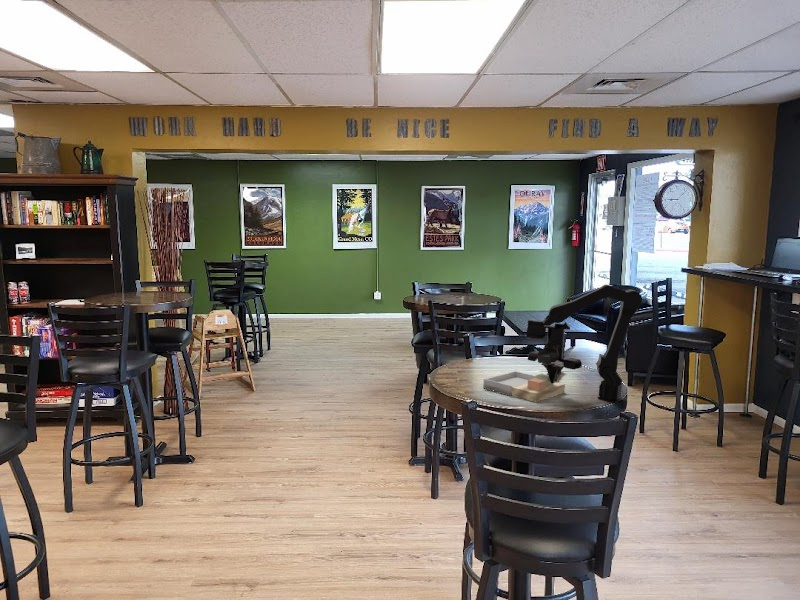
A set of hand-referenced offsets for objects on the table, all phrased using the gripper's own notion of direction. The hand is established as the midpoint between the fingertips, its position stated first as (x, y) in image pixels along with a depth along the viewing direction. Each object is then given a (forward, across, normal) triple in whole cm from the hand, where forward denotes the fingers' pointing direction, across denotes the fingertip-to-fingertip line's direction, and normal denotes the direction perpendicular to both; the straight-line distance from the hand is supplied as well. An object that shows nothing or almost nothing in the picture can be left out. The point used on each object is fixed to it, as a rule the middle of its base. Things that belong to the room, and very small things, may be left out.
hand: (552, 383), depth 202 cm
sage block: (+1, -4, 0) cm, 4 cm away
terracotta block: (+1, -2, -8) cm, 8 cm away
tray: (+4, -14, -4) cm, 15 cm away
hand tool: (+4, -13, +24) cm, 28 cm away
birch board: (+4, -3, -4) cm, 6 cm away
